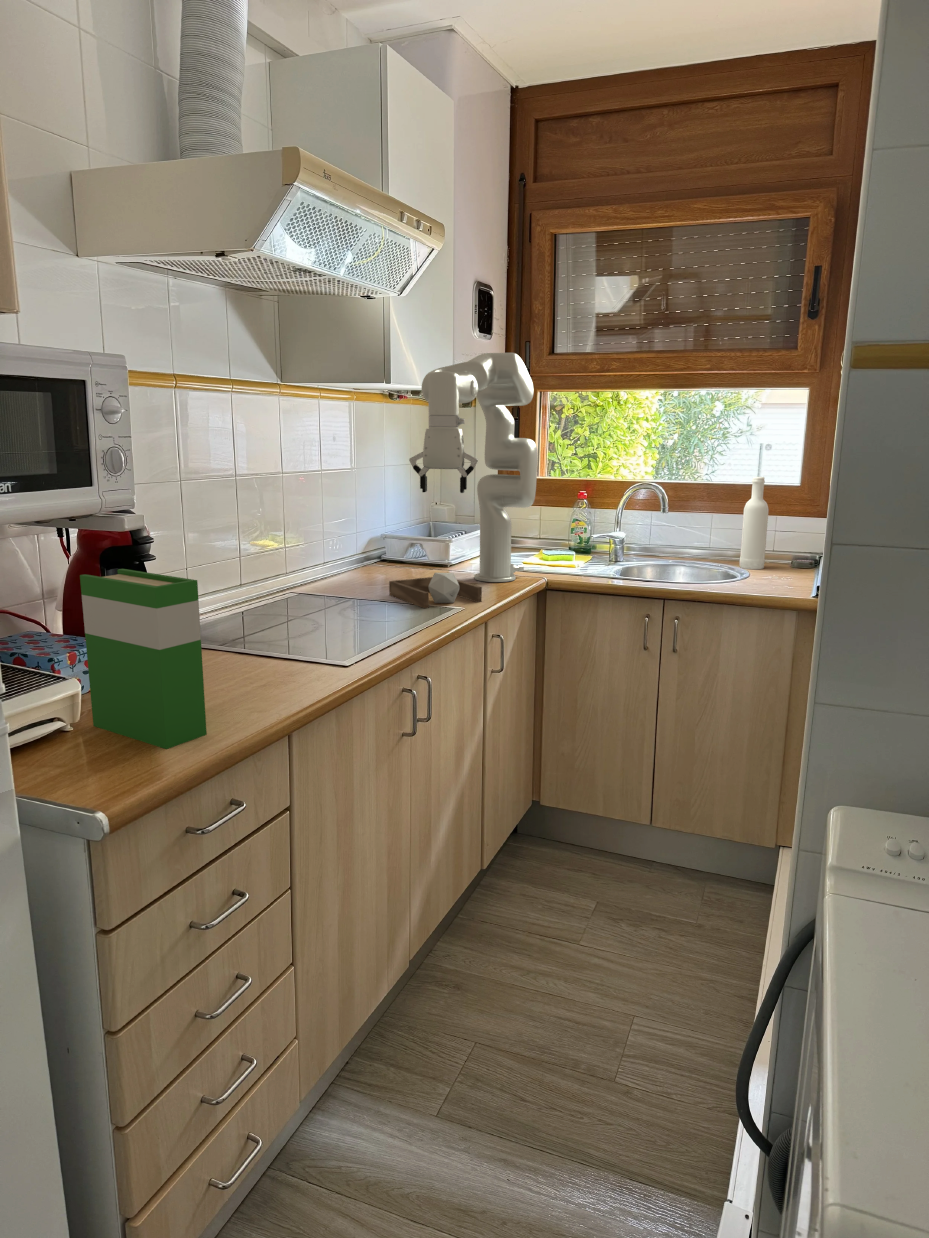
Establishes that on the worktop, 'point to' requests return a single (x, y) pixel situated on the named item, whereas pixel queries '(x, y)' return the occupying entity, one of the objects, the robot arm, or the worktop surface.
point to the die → (444, 587)
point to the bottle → (754, 528)
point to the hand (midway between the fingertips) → (443, 492)
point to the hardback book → (145, 656)
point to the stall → (419, 588)
